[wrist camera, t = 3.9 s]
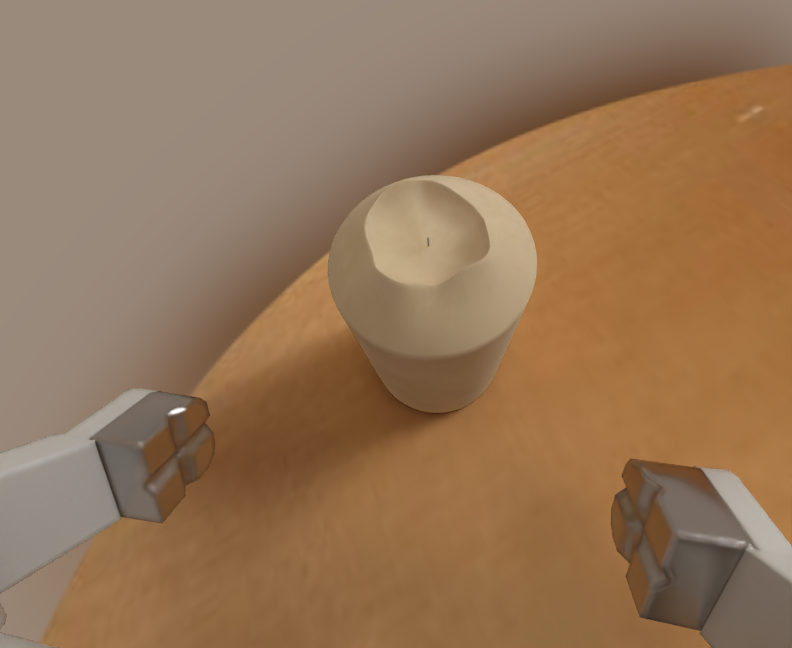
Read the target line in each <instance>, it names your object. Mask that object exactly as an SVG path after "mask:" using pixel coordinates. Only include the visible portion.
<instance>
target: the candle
mask: <svg viewBox="0 0 792 648" xmlns="http://www.w3.org/2000/svg"><path fill="white" fill-rule="evenodd" d="M536 272H537V254H536V249H535V244H534V241H533V238H532V235H531V232H530V230H529V228H528V226H527V224H526V222H525V221H524V219H523V218H522V216H521V215H520V214H519V212H518V211H517V210H516V209H515V208H514V207H513V206H512V205H511V204H510V203H509V202H508V201H507V200H506V199H504V198H503V197H502V196H501V195H499V194H498V193H496V192H494V191H493V190H491V189H490V188H487V187H485V186H483V185H481V184H479V183H476V182H473V181H470V180H467V179H463V178H458V177H453V176H443V175H429V176H419V177H414V178H409V179H404V180H401V181H398V182H395V183H392V184H390V185H388V186H386V187H383V188H381V189H380V190H378V191H376V192H374V193H373V194H371V195H370V196H368V197H367V198H366V199H364V200H363V201H362V202H361V203H359V205H357V206H356V207H355V208H354V209H353V210H352V211H351V213H350V214H349V215H348V216H347V217H346V219H345V220H344V222H343V223H342V225H341V226H340V228H339V229H338V232H337V234H336V236H335V238H334V240H333V243H332V246H331V249H330V254H329V260H328V278H329V286H330V289H331V293H332V297H333V299H334V301H335V303H336V306H337V308H338V310H339V311H340V313H341V315H342V316H343V318H344V320H345V321H346V323H347V325H348V326H349V328H350V329H351V331H352V333H353V334H354V336H355V338H356V339H357V341H358V343H359V344H360V346H361V348H362V349H363V351H364V353H365V354H366V356H367V358H368V359H369V361H370V363H371V364H372V366H373V367H374V369H375V371H376V372H377V374H378V376H379V377H380V379H381V381H382V382H383V384H384V385H385V387H386V388H387V389H388V390H389V391H390V393H391V394H392V395H393V396H394V397H395V398H397V399H398V400H399V401H401V402H402V403H403V404H405V405H407V406H409V407H411V408H414V409H416V410H419V411H424V412H430V413H445V412H450V411H454V410H458V409H461V408H463V407H465V406H467V405H469V404H470V403H472V402H473V401H475V400H476V399H477V398H478V397H480V396H481V395H482V394H483V393H484V391H485V390H486V389H487V388H488V386H489V385H490V383H491V381H492V380H493V378H494V376H495V374H496V371H497V369H498V367H499V365H500V363H501V360H502V358H503V356H504V354H505V351H506V349H507V347H508V345H509V343H510V340H511V338H512V336H513V334H514V331H515V329H516V327H517V325H518V323H519V320H520V318H521V316H522V314H523V311H524V309H525V307H526V305H527V302H528V300H529V298H530V296H531V293H532V290H533V287H534V283H535V280H536Z"/></svg>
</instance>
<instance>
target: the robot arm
mask: <svg viewBox="0 0 792 648" xmlns="http://www.w3.org/2000/svg"><path fill="white" fill-rule="evenodd" d="M209 416H210V413H209V409H208V405H207V402H206V401H204V400H203V399H201V398H198V397H192V396H186V395H179V394H174V393H168V392H161V391H153V390H147V389H141V388H135V389H129V390H127V391H125V392H124V393H123V394H121V395H120V396H118V397H117V398H115V399H114V400H112V401H111V402H110V403H108V404H107V405H105V406H104V407H102V408H101V409H100V410H98V411H97V412H95V413H94V414H92V415H91V416H89V417H88V418H87V419H85V420H84V421H82V422H81V423H79V424H78V425H76V426H75V427H74V428H72V429H71V430H69V431H68V432H66V433H65V434H64V435H58V434H54V435H51V436H48V437H45V438H42V439H40V440H36V441H33V442H30V443H27V444H24V445H22V446H19V447H16V448H13V449H10V450H7V451H4V452H1V453H0V594H1V593H2V592H4V591H5V590H7V589H9V588H10V587H12V586H14V585H15V584H17V583H18V582H20V581H22V580H23V579H25V578H27V577H28V576H30V575H31V574H33V573H35V572H36V571H38V570H40V569H41V568H43V567H45V566H46V565H48V564H49V563H51V562H53V561H54V560H56V559H57V558H59V557H61V556H62V555H64V554H66V553H67V552H69V551H71V550H72V549H74V548H75V547H77V546H79V545H80V544H82V543H83V542H85V541H87V540H88V539H90V538H92V537H93V536H95V535H97V534H98V533H100V532H101V531H103V530H105V529H106V528H108V527H110V526H111V525H113V524H114V523H116V522H118V521H119V520H121V517H125V518H131V519H137V520H144V521H150V522H156V523H163V522H164V521H165V520H166V518H167V517H168V516H169V515H170V514H171V513H172V511H173V510H174V509H175V508H176V507H177V505H178V504H179V503H180V502H181V501H182V499H183V498H184V497H185V496H186V485H188V484H190V483H192V482H194V481H196V480H198V479H200V478H201V477H202V475H203V474H204V473H205V472H206V470H207V469H208V468H209V465H210V463H211V460H212V458H213V456H214V451H215V439H214V433H213V432H212V431H211V429H210V428H209V427H208V426H207V425H206V424H205V422H206V421H207V419H208V418H209ZM622 478H623V480H624V483H625V485H626V488H625V489H623V490H622V491H620V492H619V493H617V494H616V495H615V497H614V501H613V505H612V508H611V529H612V535H613V540H614V543H615V546H616V549H617V551H618V552H619V553H620V554H621V555H622V556H623V557H624V558H625V559H626V560H627V561H628V562H629V563H630V565H629V568H628V571H627V574H626V579H627V582H628V584H629V587H630V590H631V593H632V596H633V599H634V602H635V605H636V608H637V611H638V613H639V616H640V617H641V618H646V619H650V620H655V621H659V622H664V623H668V624H673V625H677V626H682V627H686V628H691V629H695V630H699V631H701V632H700V634H701V636H702V637H703V638H704V639H705V640H706V641H707V642H708V644H709V645H710V646H711V647H712V648H792V546H791V544H790V543H789V542H788V541H787V539H786V538H785V537H784V535H783V534H782V533H781V532H780V530H779V529H778V528H777V527H776V525H775V524H774V523H773V521H772V520H771V519H770V518H769V516H768V515H767V514H766V512H765V511H764V510H763V509H762V507H761V506H760V505H759V503H758V502H757V501H756V500H755V498H754V497H753V496H752V494H751V493H750V492H749V491H748V489H747V488H746V487H745V486H744V484H743V483H742V482H741V480H740V479H739V478H738V477H737V476H736V475H735V474H733V473H732V472H730V471H729V470H722V469H714V468H705V467H697V466H694V467H690V466H682V465H675V464H668V463H660V462H653V461H645V460H638V459H630V460H629V461H628V462H627V463H626V465H625V467H624V470H623V473H622ZM6 616H7V614H6V613H5V611H4V609H3V607H2V606H1V604H0V628H1V627H2V626H3V625H4V624H5V621H6ZM0 648H58V647H55V646H51V645H47V644H43V643H39V642H35V641H31V640H28V639H24V638H20V637H16V636H12V635H9V634H5V633H1V632H0Z"/></svg>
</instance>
